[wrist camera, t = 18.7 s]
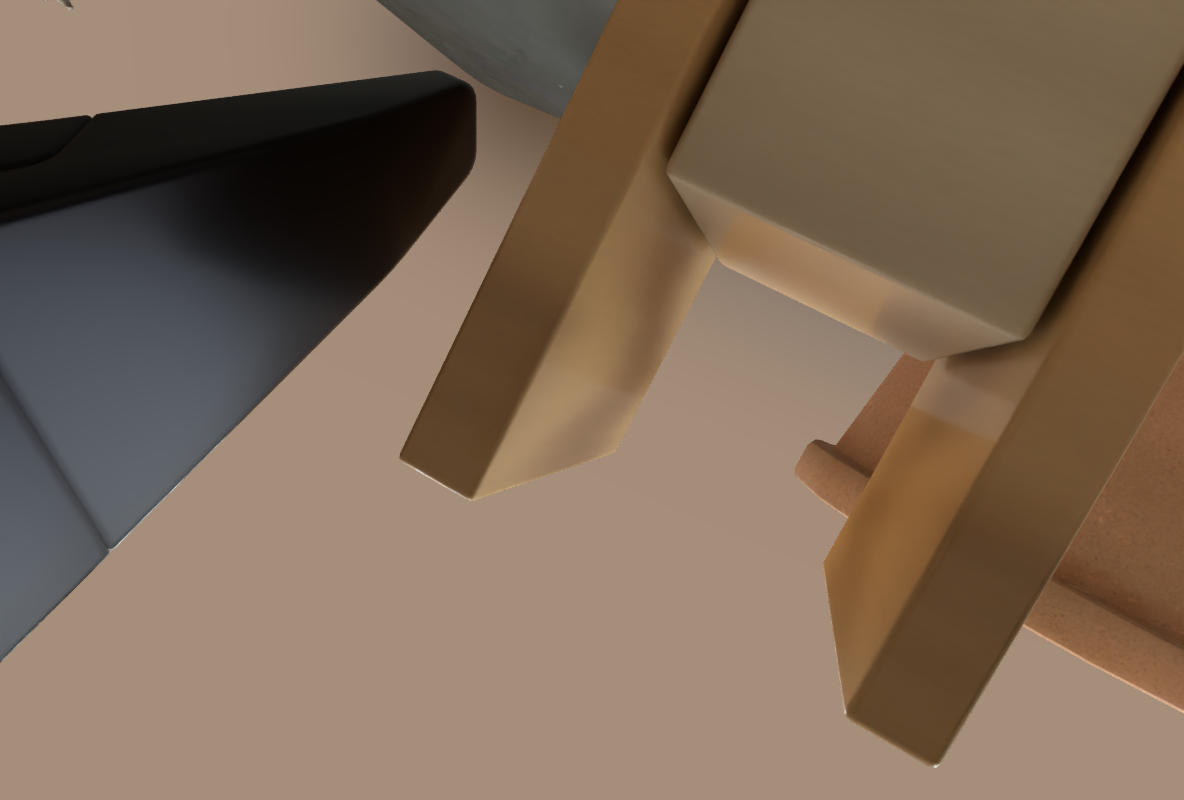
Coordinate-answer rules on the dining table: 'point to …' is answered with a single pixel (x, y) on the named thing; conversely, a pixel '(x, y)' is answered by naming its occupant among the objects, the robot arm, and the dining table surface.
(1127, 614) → the pottery
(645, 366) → the napkin holder
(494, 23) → the dining table surface
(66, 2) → the flask
